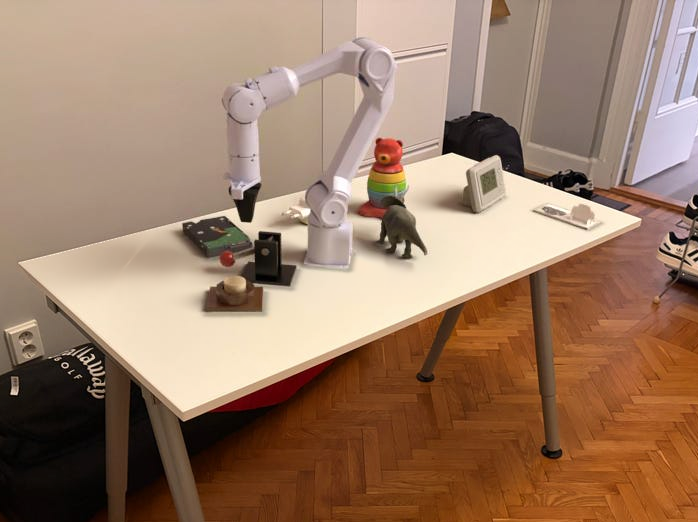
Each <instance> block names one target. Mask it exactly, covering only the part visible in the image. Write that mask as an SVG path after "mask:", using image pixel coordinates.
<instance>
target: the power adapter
mask: <svg viewBox="0 0 698 522" xmlns="http://www.w3.org/2000/svg"><path fill="white" fill-rule="evenodd" d="M309 213H310V208H309V207H308V206H307V204H306V202H305V196H303V197H300V198H299V200H298V204H296V205H293V206H289V208H288V210H287V211H283V212H282V213H281V215H282V216H286V215H289V214H290V216H289V217H288V218H289V219H290V220H293V219H295V218H298V219H299V221H300V222H301V223H303V224H306V225H308V216H309Z"/></svg>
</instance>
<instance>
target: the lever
mask: <svg viewBox="0 0 698 522" xmlns="http://www.w3.org/2000/svg"><path fill="white" fill-rule="evenodd" d="M262 240H268V241H275V239H274V237H273V236H271V237H268V238H265V239H262ZM251 255H254V246H252V248H249V249H246V250H243V251H240V252H236V253H232V252H230V251H224V252H222V253H221V255H220V256H218V260H219V263H220V264H221V266H223V267H225V268H231V267H232V266H234V265H235V264H236V261H237V260H239V259H242V258H245V257H248V256H251Z"/></svg>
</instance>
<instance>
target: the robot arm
mask: <svg viewBox="0 0 698 522" xmlns="http://www.w3.org/2000/svg"><path fill="white" fill-rule="evenodd" d="M397 72H398V65H397V62H396V60H395V58H394V55H393V53H392V51H391V50H390V49H389V48H387V47H385V46H383V45H380V44H379V43H377V42H375V41H374V40H372V39H371V38H370V37H367V36H358V37H356V38H354V39H353V40H347V41H344V42H342V43H340V44H339V45H338V46H336V47H334V48H332V49H330V50H328V51H326V52H324V53H322V54H320V55H318V56H316V57H313V58H312V59H310V60H308V61H306V62H304V63H302V64H300V65H298V66H296V67H294V68H292V69H291V68H287V67H286V66H282V65H281V66H279V67H277V65H272V66H270V67H268V71H267V72H265V73H263V74H260V75H258V76H256V77H253V78H251V77H246V78H244V82H245V83H243V82H241V83H240V82H234V83H232V84H230V85H228V86H227V87H226V89H225V90H224V92H223V95H222V98H221V104H222V107H223V108H224V109H225V111H226V141H227V159H228V172H224V173H223V174H222V179H223V180H227V181H228V182H229V185H230V186H229V187H228V194H229V196H230V197H231V200H232V201H233V202H234V204H235V207H236V210H237V214H238V218H239V221H240V223H248V224H250V223H252V222H253V219H254V216H255V209H256V203H257V199H258V196H259V191H260V190H261V188H262V183H261V181H262V175H261V170H260V167H261V166H260V148H259V147H260V144H259V143H260V142H259V128H258V126H259V125H258V119H259V117H260V116H261V114H262V112H265V111H267V110H270V109H272V108H275V107H276V106H279V105H281V104H283V103H285V102H288V101H291V100H293V99H294V98H296V96H297V95H298V92H299V89H301V88H303V87H305V86H308V85H310V84H313V83H317V82H319V81H321V80H324V79H327V78H329V77H331V76H334V75H337V74H343V75H347V76H352V77H356V78H357V79H358V82H359V85H360V88H361V91H362V94H363V98H362V99H361V101H360V103H359V105H358V107H357V109H356V111H355V113H354V115H353V116H352V117H353V118H352V119H351V122H350V123H349V126H348V128H347V130H346V132H345V133H344V136H343V138H342V139H341V141H340V144H339V146H338V147H337V148H336V149H337V150H336V152H335V154H334V156H333V158H332V160H331V161H330V163H329V165H328V168H327V169H326V170H324V171H322V172H320V173H319V174H318V176H317V178H316V180H314V182H313V183H312V184H310V185H309V186H308V187H307V189H306V191H305V193H304V197H305V202H306V204H307V206H308V207H309V208H310V213H309V216H308V224H307V251H306V255H305V256H304V259H303V265H307V266H319V267H330V268H340V269H341V268H342V269H343V268H344V269H349V267H350V263H351V258H352V257H353V252H354V248H353V237H354V236H353V235H354V234H353V233H354V224H353V223H354V222H353V221H348V220H346V217H347V215H348V205H349V203H350V200H351V198H352V182H353V180H354V178H355V176H356V174H357V172H358V170H359V168H360V167H361V164H362V163H363V161H364V158H365V157H366V156H367V153H368V151H369V149H370V147H371V145H372V143H373V142H374V139H375V137H376V135H377V133H378V132H379V130H380V129H381V126H382V125H383V122H384V120H385V118H386V116H387V114H388V113H389V111H390V108H391V106H392V105H393V102H394V99H395V79H396V77H395V76H396V73H397Z"/></svg>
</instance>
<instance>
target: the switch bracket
mask: <svg viewBox="0 0 698 522" xmlns="http://www.w3.org/2000/svg"><path fill="white" fill-rule="evenodd" d="M257 235H258V239H254V241H253V247H254V254H253V255H254V261H247V263H246V265H245V267H244V268H243V271H242V273H241V276H240V277H243V278H245V280H248V281H250V282H251V283H252V284H257V285H267V286H268V285H269V286H283V287H291V285H292V282H293V279H294V277H295V275H296V272H297V265H296V264H295V265H294V264H285V263H282V262H283V260H282V255H283V254H282V232H276V231H265V230H259V231H258V233H257ZM271 236H273V237H274V239H275V241H268V240H262V239H265V238H268V237H271Z"/></svg>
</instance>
